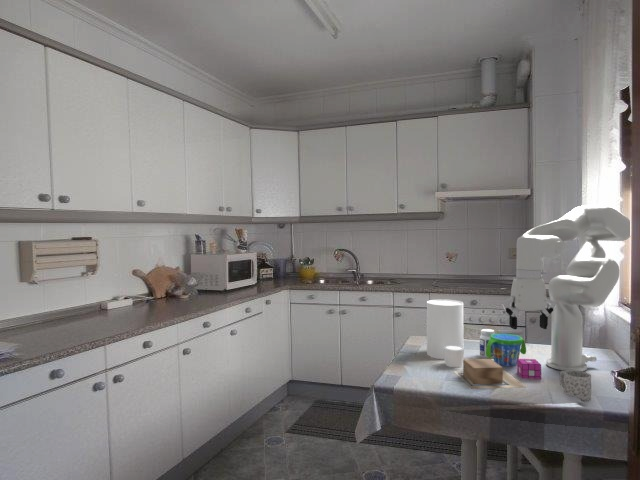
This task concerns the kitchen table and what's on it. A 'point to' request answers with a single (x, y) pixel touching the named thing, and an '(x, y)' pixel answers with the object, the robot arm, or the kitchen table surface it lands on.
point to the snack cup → (505, 348)
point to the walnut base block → (482, 371)
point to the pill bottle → (485, 342)
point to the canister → (443, 326)
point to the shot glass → (453, 356)
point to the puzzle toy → (529, 368)
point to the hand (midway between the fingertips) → (528, 328)
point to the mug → (576, 384)
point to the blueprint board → (507, 383)
